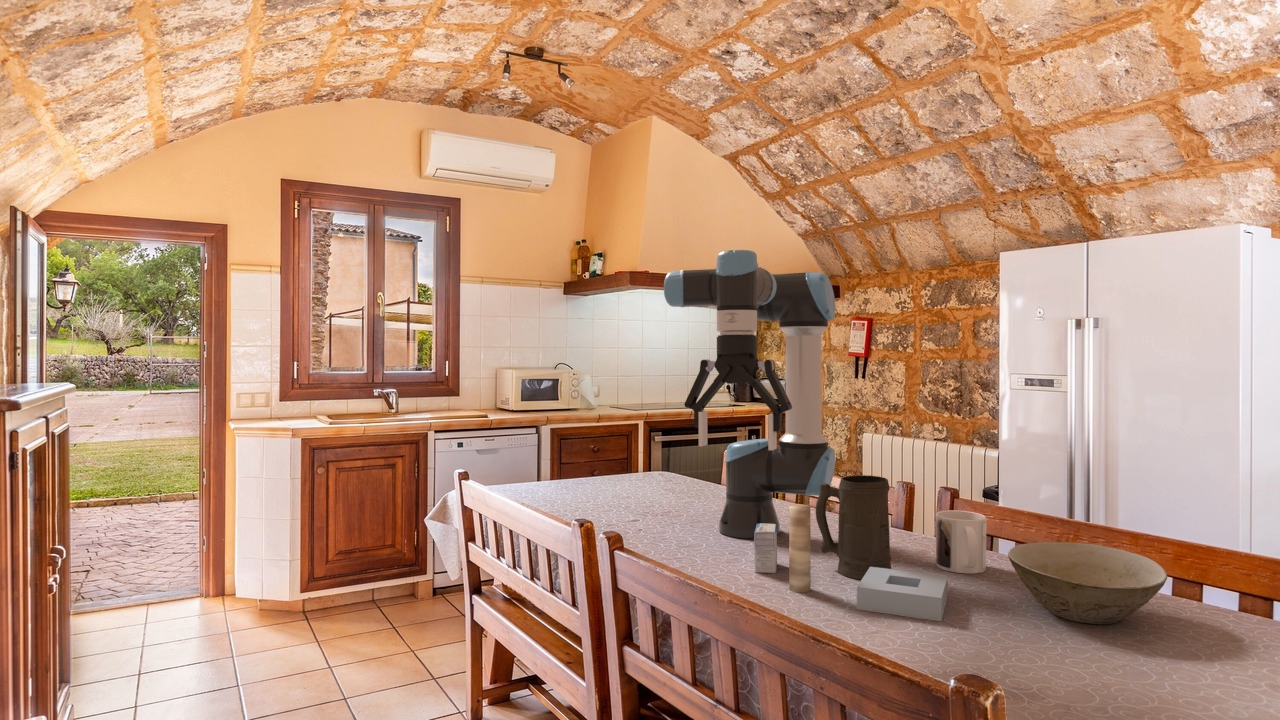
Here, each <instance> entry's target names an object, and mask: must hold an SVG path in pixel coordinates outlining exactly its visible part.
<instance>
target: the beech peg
mask: <svg viewBox="0 0 1280 720" xmlns="http://www.w3.org/2000/svg"><path fill="white" fill-rule="evenodd" d="M788 507H789V509H788V510H789V511H788V514H789V515H788V520H789V521H788V530H789V531H788V533H789V534H788V535H789V536H788V538H789V540H788V543H789V544H788V545H789V547H788V548H789V549H788V554H789V555H788V556H789V557H788V560H789V561H788V564H789V566H788V572H789V573H788V574H789V576H788V577H789V578H788V579H789V581H788V585H789V587H788V589H789V590H790V591H792V592H794V593H809V592H810V591H811V584H812V583H811V582H812V581H811V580H812V579H811V574H812V573H811V570H812V568H811V563H812V562H811V557H812V556H811V555H812V554H811V550H812V549H811V547H812V545H811V506H810V505H808V504H804V503H803V504H802V503H801V504H799V503H795V504H790V505H788Z"/></svg>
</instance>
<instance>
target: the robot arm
mask: <svg viewBox="0 0 1280 720" xmlns="http://www.w3.org/2000/svg"><path fill="white" fill-rule="evenodd" d="M663 295H664V300H665V302H666V303H667V304H668V305H669V306H670V307H675V308H676V307H677V308H690V307H691V308H692V307H693V308H706V309H713V310H716V332H718V333H719V335H717V337H716V360H715V361H714V360H710V359H702V360H701V361H700V364H699V371H698V374H697V376H696V378H695V380H694V382H693V385H692V387H691V389H690V391H689V394H688V395H687V397H686V400H685V401H684V404H683V405H684V407H685V408H688V409H690V410H692V411H693V426H694V428H695V429H698V447H705V446H708V410H705V408H706V406H707V405H708V404H709V403H710V401H712V399H713V398H714V397H715V396H716V395H717V393H718V392H719V390H720V389H721V388H722V386H724V385H725V384H726V383H727V384H729V385H731V384H732V385H733V384H738V385H744V384H745V385H746V384H748V385H749V386H751V388H753V390H754V391H755V392H756V394H757V395H758V396H759V397H760V398H761V400H762V401H763V402H764V404H765V405H766V406H767V407H768V409H769V410H770V411H771V412H772V413H769V414H768V417H767V418H768V419H767V420H768V426H767V428H768V432H767V433H768V435H767V438H758V439H756V438H755V439H748V440H739V441H736V442H732V443H730V444H729V445H728V446H727V447H726V451H725V452H726V453H725V454H726V457H725V486H726V487H725V492H726V494H725V496H726V497H725V498H726V499H725V504H724V507H723V509H722V513H721V517H720V519H719V523H718V525H719V526H718V529H719V530H718V531H719V533H720V534H723V535H724V536H729V537H732V538H738V539H753V540H754V534H755V530H756V526H757V524H762V523H766V524H776V525H777V536H779V534H780V532H781V531H780V530H781V528H780V527H781V526H780V525H781V524H780V522H779V521H780V520H779V517H778V515H777V512H776V509H775V505H774V503H773V501H774V499H773V493H775V494H777V493H778V494H790V495H802V496H806V497H809V496H813V497H814V496H816V497H817V496H818V497H819V494H820V484H825V483H827V484H829V485H830V486H831V485H832V481H833V477H834V474H835V468H836V451H835V449H834V448H831V447H828V445H829V444H828V443H829V442H828V439H827V438H826V436H824V435H823V433H822V335H823V333H825V332H826V331H827V330H828V328H829V322H830V321H833V320H834V319H835V317H836V299H835V293H834V289H833V285H832V283H831V280H830V278H829V276H828V275H826V274H825V273H824V272H809V271H807V272H793V273H792V272H791V273H778V274H777V273H776V274H775V273H774V274H772V273H771V272H769V270H767V269H765V268H764V267H762V266H761V267H759V263H758V256H757V253H756V252H755V251H753V250H749V249H730V250H723V251H721V252H719V253H718V254H717V257H716V268H711V269H708V268H707V269H705V268H704V269H688V270H687V269H685V270H684V269H680V270H673V271H672V270H671V271H669V272H668V273H667V274H666V276H665V278H664V281H663ZM758 321H763V322H778V323H779V326H778V327H779V330H780V331H782V333H783V334H784V336H785V388H784V387H783V384H782V383H781V380H780V379H779V375H778V374H777V372H776V365H775V361H774V360H773V359H765V360H762V361H759V359H758V336H757V335H755V333H756V332H758ZM714 368H715V370H716V371H717V373H718V374H717V376H716V377H715V378H714V380H713V382H712V383H711V384H710V385H709V387H708V388H707V389H706V391H705V392H704V393H703V394H702V396H701V397H700V395H701V393H702V390H703V389H704V386H705V385H706V382H707V380H708V378H709V376H710V372H713V370H714ZM759 369H761V370H762V372H763V373H765V376H766V377H767V380H768V383H769V384H770V386H771V389H772V390H773V393H774V395H775V396H776V399H777V400H776V399H775V398H774V396H773V395H772V394H771V393H770V391H769V390H768V389H767V388H766V386H765V385H764V384H763V383H762V381H761V380H760V378H759V377H758V375H757V374H756V373H757V372H758V370H759ZM699 397H700V398H699ZM784 413H785V431H784V432H785V433H784V434H783V435H781V437H780V438H779V444H777V443H778V442H777V433H778V432H781V431H782V429H783V425H782V424H783V423H782V421H783V418H782V417H783V414H784Z"/></svg>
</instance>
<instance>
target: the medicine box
mask: <svg viewBox="0 0 1280 720" xmlns="http://www.w3.org/2000/svg"><path fill="white" fill-rule="evenodd" d="M777 537H778V535H777V525H776V524H766V523H762V524H757V526H756V530H755V534H754V539H753V540H754V544H753V545H754V572H755V573H761V574H776V573H777V565H778V543H777V542H778V539H777Z"/></svg>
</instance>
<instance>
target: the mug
mask: <svg viewBox="0 0 1280 720" xmlns="http://www.w3.org/2000/svg"><path fill="white" fill-rule="evenodd" d="M935 565H936V567H937V568H939V569H941V570H944V571H947V572H952V573H955V574H969V575H970V574H982V573H985V571H986V569H987V517H986V515H984V514H981V513H978V512H973V511H967V510H950V509H949V510H940V511H938V512H936V513H935Z"/></svg>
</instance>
